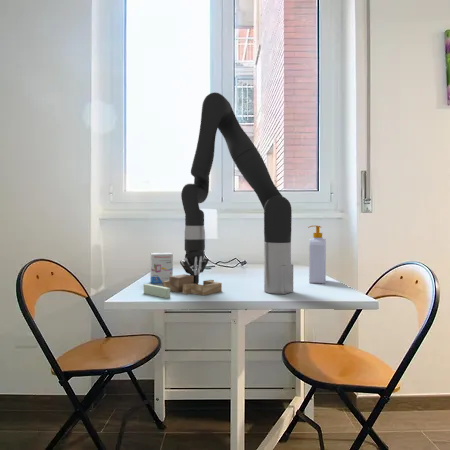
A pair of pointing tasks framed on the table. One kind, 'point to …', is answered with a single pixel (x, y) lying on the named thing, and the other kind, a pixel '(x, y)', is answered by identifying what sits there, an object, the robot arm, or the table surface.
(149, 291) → the wall
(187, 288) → the wooden maze walls
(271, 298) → the table surface
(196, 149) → the robot arm
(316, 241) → the soap bottle
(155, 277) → the ink box
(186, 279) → the walnut block
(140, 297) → the table surface
